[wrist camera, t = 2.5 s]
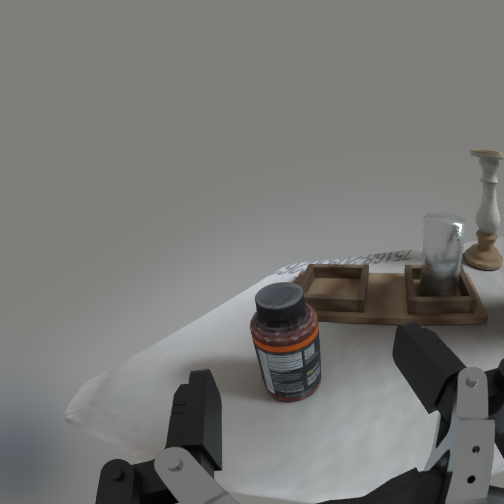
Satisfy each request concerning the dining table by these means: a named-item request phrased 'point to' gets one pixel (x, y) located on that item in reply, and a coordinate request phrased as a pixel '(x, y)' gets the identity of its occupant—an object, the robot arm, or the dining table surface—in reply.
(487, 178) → the candle holder
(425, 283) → the can
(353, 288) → the wooden divided tray
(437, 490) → the robot arm
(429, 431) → the dining table surface
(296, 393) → the supplement bottle
